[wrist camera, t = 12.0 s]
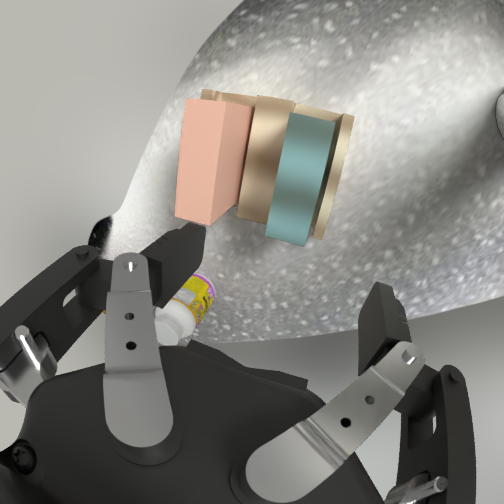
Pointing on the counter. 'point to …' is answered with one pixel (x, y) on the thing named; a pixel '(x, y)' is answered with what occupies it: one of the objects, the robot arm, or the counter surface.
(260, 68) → the counter surface
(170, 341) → the supplement bottle
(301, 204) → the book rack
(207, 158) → the coral book
